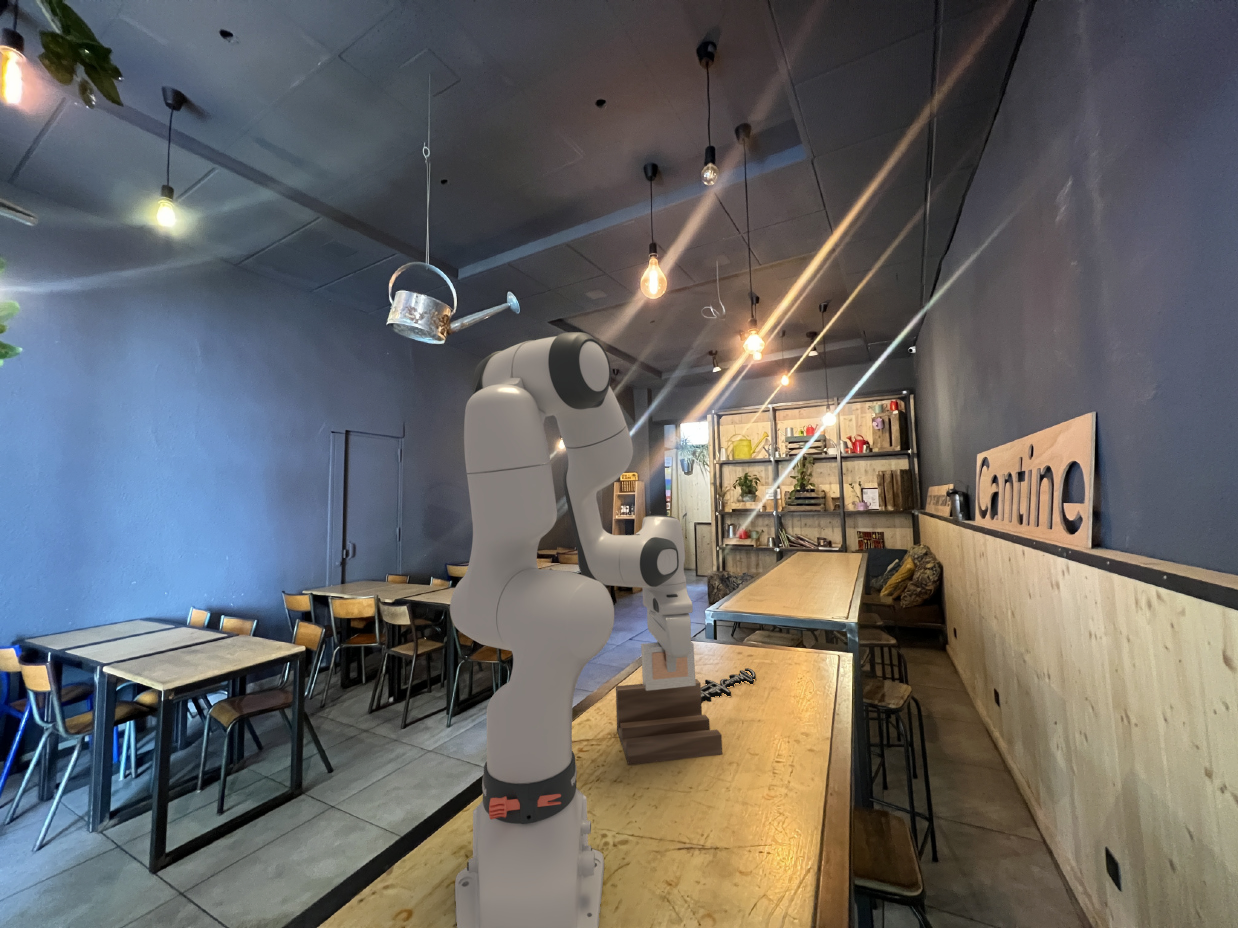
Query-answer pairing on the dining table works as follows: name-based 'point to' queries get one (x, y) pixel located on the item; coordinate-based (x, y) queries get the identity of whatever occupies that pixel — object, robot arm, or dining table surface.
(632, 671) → the dining table surface
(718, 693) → the nameplate
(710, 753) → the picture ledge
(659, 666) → the light grey rectangular block
